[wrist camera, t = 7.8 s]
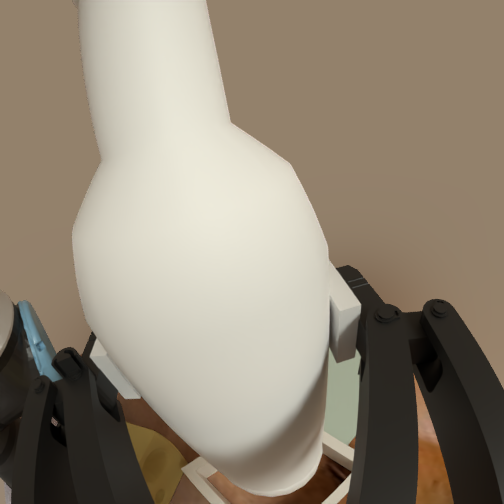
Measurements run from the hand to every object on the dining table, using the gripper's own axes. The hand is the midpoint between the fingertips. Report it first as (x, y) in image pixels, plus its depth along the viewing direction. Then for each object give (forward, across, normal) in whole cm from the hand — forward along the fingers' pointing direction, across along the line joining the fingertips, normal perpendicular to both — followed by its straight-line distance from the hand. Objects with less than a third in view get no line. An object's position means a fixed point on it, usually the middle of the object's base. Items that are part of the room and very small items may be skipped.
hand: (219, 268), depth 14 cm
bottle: (-5, 0, -16) cm, 17 cm away
